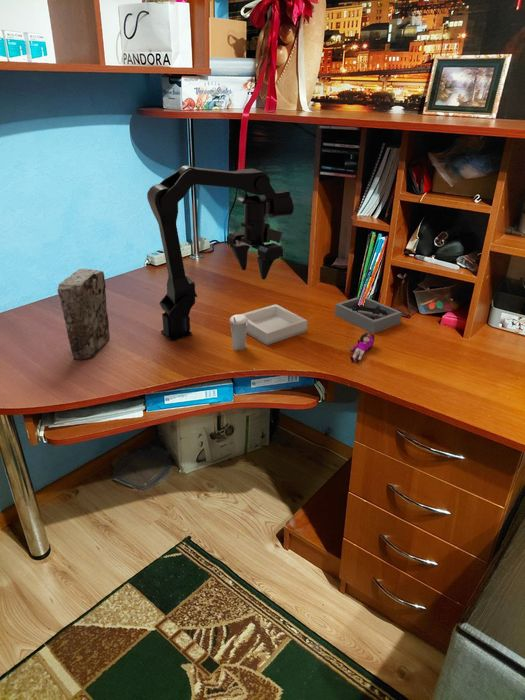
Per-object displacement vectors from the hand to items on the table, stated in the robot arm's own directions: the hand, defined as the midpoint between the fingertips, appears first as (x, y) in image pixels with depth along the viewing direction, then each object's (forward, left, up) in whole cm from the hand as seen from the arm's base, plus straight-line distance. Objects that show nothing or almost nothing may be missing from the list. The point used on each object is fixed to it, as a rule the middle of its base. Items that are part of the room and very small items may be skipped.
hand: (253, 274), depth 149 cm
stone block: (-45, +9, -14) cm, 48 cm away
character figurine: (+10, -33, -14) cm, 38 cm away
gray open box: (+27, -20, -14) cm, 36 cm away
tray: (0, -9, -14) cm, 16 cm away
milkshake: (-14, -13, -14) cm, 24 cm away
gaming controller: (+26, -20, -13) cm, 36 cm away
